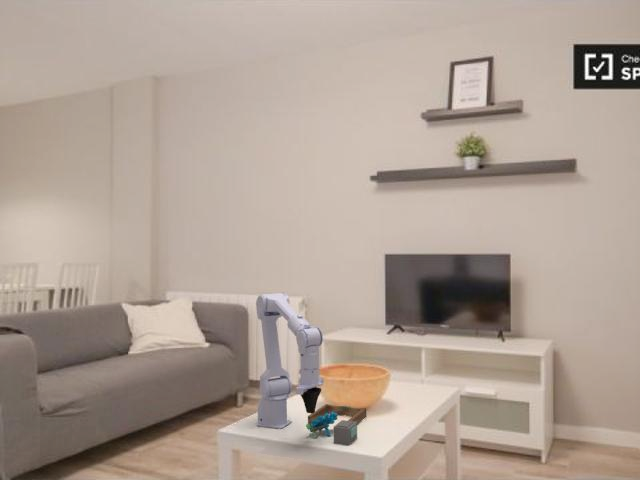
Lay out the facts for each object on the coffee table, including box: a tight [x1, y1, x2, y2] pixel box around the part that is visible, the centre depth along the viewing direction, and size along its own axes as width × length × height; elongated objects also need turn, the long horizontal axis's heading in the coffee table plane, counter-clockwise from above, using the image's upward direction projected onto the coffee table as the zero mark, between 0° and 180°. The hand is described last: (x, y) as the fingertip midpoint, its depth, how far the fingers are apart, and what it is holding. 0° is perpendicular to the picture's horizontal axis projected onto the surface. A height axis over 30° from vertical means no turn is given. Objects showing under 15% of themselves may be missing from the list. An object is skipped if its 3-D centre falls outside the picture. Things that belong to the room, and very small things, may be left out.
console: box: [333, 419, 358, 446], centre depth 175 cm, size 5×7×5 cm
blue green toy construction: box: [305, 412, 339, 439], centre depth 181 cm, size 11×6×10 cm
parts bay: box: [307, 403, 367, 426], centre depth 195 cm, size 15×15×3 cm
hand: (310, 412), depth 173 cm, fingers closed
